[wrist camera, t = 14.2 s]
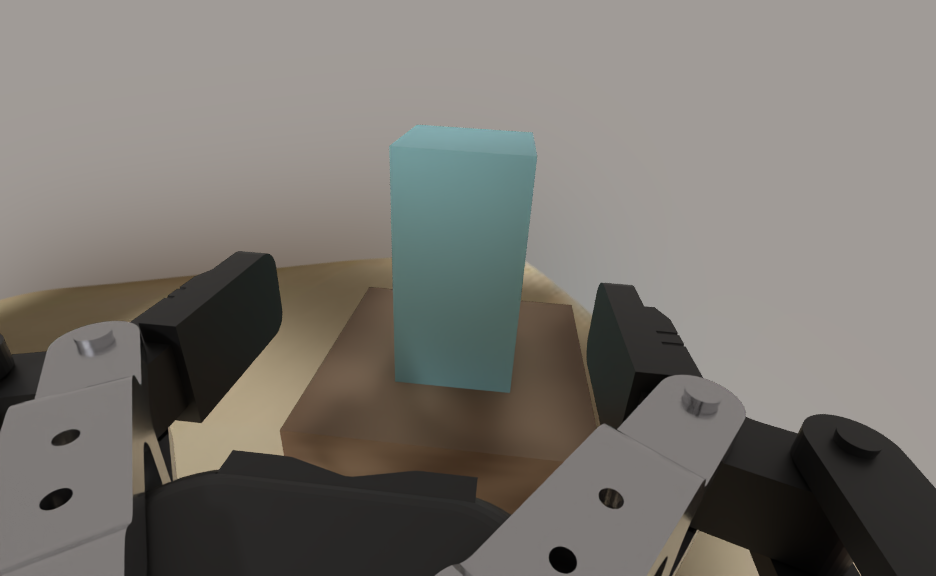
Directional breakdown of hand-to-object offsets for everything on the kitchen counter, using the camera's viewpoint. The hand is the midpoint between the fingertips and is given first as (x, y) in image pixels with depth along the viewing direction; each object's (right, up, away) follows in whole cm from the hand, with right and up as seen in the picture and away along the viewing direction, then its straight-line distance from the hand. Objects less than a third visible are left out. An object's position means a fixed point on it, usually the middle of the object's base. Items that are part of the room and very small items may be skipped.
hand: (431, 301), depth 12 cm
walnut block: (0, -7, +13) cm, 15 cm away
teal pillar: (0, -3, +11) cm, 11 cm away
